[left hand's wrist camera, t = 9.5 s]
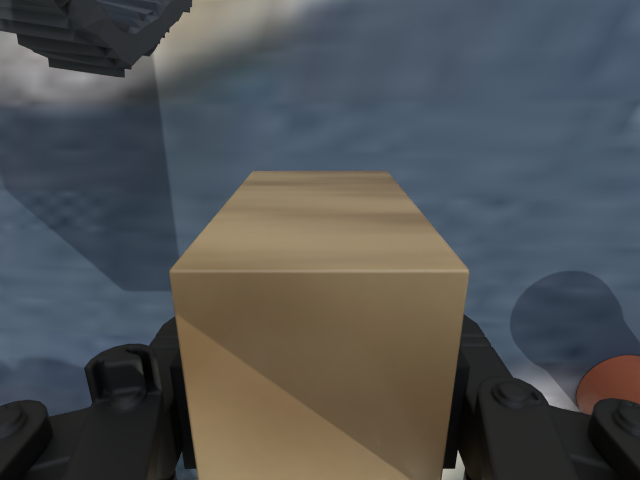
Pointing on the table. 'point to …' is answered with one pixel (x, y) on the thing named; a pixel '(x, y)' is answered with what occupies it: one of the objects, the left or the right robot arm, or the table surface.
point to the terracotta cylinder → (610, 382)
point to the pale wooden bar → (319, 331)
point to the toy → (91, 30)
